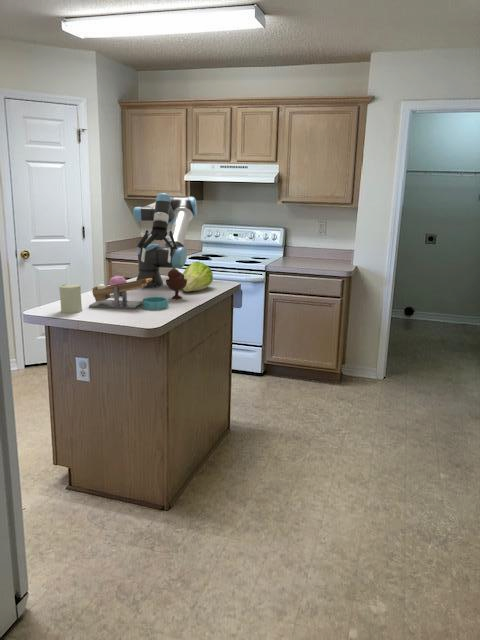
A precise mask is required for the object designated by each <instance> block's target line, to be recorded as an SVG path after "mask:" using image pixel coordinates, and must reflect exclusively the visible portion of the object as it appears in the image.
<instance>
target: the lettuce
mask: <svg viewBox="0 0 480 640" xmlns="http://www.w3.org/2000/svg"><path fill="white" fill-rule="evenodd" d="M182 274H183V275H184V279H187V284H186V286H185V287H184V288H183V289H182V290H183V291H185V292H192V291H193V292H195V291H203V290H205V289H206V288H208V287H209V286H210V285H212V282H213V276H214V274H213V271H212V269H211V267H210V266H209V265H207V264H205V263H204V262H201V261H199V260H197V261H195V262H192V263H191V264H190V265H188V266H187V267H186V268H185V269H184V271H183V273H182Z"/></svg>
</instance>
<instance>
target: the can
mask: <svg viewBox="0 0 480 640" xmlns="http://www.w3.org/2000/svg"><path fill="white" fill-rule="evenodd" d="M58 288H59V289H58V290H59V299H60V300H59V301H60V313H63V314H76V313H80V312H82V311H83V306H82V305H83V304H82V292H81V291H82V290H81V284H78V283H65V284H60V285H59V286H58Z"/></svg>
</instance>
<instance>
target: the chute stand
mask: <svg viewBox="0 0 480 640" xmlns="http://www.w3.org/2000/svg"><path fill="white" fill-rule="evenodd" d="M127 292H128V291H125V292H124V293H122V295H121V297H122V298H121V299H122V300H120V295H119V289H118V288H117V287H115V288H114V293H113V296H114V298H113V299H107V300H103V301H97V302H96V301H95V302H92V303H91V304H89V305H88V308H91V309H114V310H116V309H117V310H136V309H138V308H139V307H140V306H143V304H142V300H128V296H127V295H128V294H127Z"/></svg>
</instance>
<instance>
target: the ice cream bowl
mask: <svg viewBox="0 0 480 640" xmlns="http://www.w3.org/2000/svg"><path fill="white" fill-rule="evenodd" d="M167 277H168V278H166V279H165V283H166V286H167V287H168V289H171V290H172V291H174V295H173V296H172V297H171V299H172V300H173V299H176V301H177V300H178V299H179V300H182V299H183V297H182V296H181V295H179V292H180V291H181V290H183V288H184V287H185V286H186V284H187V279H184V275H183V273H182V272H180V271H179V270H178V269H177V268H171V269H170V270H169V271H168V273H167Z"/></svg>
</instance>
